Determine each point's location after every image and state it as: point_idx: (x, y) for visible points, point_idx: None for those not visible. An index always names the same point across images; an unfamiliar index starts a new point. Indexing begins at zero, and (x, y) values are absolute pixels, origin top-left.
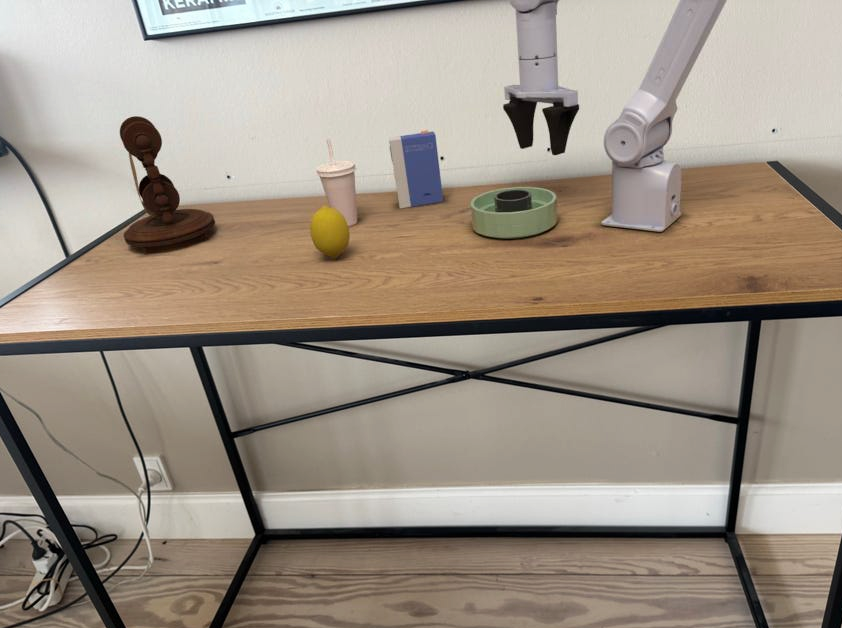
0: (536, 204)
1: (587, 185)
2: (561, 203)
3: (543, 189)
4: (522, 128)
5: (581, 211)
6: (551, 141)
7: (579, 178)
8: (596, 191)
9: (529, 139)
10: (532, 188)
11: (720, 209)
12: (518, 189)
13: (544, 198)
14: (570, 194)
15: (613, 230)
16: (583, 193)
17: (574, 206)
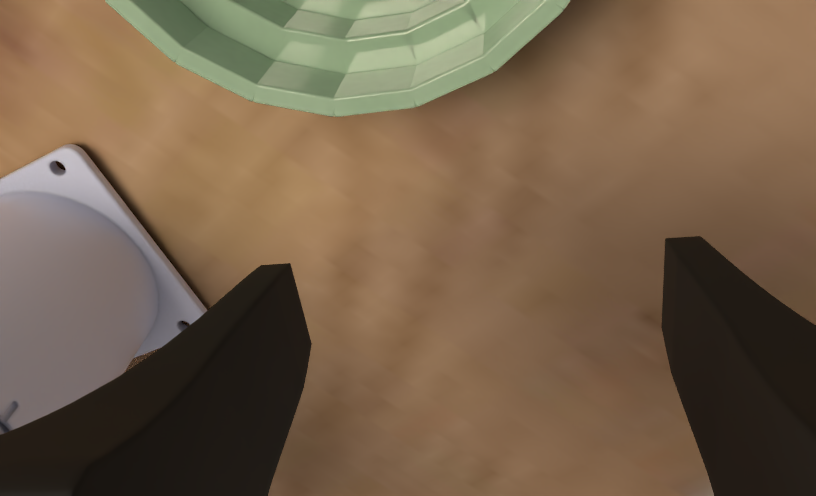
0: (395, 27)
1: (611, 429)
2: (491, 217)
3: (368, 100)
4: (718, 367)
5: (318, 205)
6: (229, 311)
7: None
8: (508, 401)
9: (677, 346)
10: (450, 70)
11: None
12: (533, 5)
13: (361, 76)
14: (570, 318)
15: (5, 142)
16: (531, 357)
17: (404, 228)
